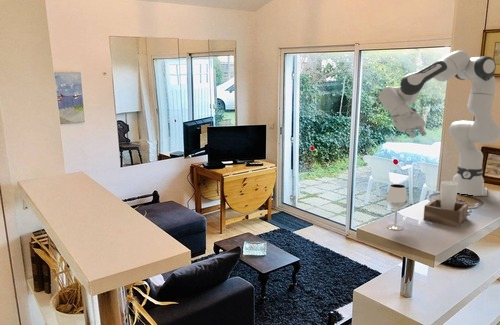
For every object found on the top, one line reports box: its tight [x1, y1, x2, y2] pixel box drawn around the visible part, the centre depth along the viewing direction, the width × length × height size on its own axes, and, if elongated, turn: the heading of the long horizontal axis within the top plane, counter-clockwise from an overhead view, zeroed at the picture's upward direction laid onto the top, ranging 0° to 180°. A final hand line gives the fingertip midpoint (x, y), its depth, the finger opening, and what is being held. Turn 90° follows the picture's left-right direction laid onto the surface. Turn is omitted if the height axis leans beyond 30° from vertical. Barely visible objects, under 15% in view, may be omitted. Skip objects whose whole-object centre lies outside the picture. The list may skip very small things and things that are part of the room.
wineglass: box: [385, 183, 409, 231], centre depth 162 cm, size 8×8×18 cm
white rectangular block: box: [439, 180, 458, 210], centre depth 174 cm, size 7×7×15 cm
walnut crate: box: [422, 198, 469, 228], centre depth 173 cm, size 14×14×6 cm
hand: (419, 136), depth 186 cm, fingers open, 8 cm apart
